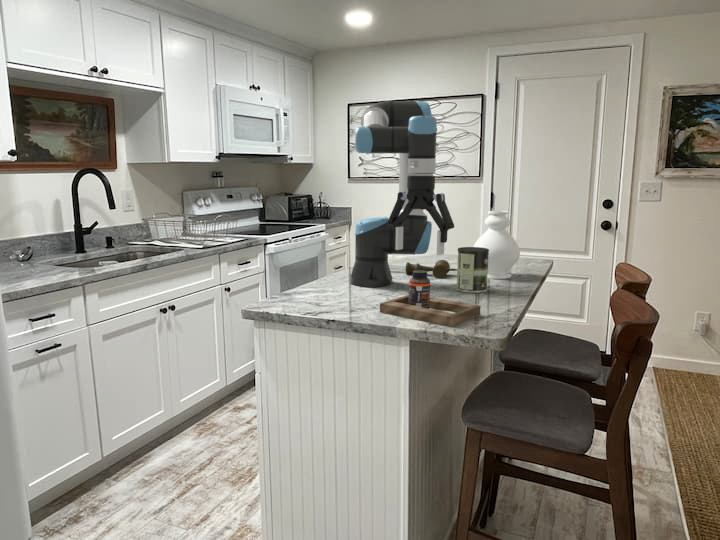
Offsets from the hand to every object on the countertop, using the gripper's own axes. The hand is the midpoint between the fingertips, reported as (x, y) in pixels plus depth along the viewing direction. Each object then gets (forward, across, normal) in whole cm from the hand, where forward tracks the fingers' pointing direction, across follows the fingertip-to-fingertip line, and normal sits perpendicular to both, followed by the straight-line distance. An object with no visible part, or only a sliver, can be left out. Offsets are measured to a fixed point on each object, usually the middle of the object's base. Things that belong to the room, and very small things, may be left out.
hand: (419, 251), depth 148 cm
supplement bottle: (+17, +1, -1) cm, 17 cm away
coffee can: (+18, -1, +36) cm, 40 cm away
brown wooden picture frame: (+17, +5, 0) cm, 18 cm away
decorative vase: (+18, -6, +65) cm, 67 cm away
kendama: (+18, -25, +49) cm, 58 cm away
